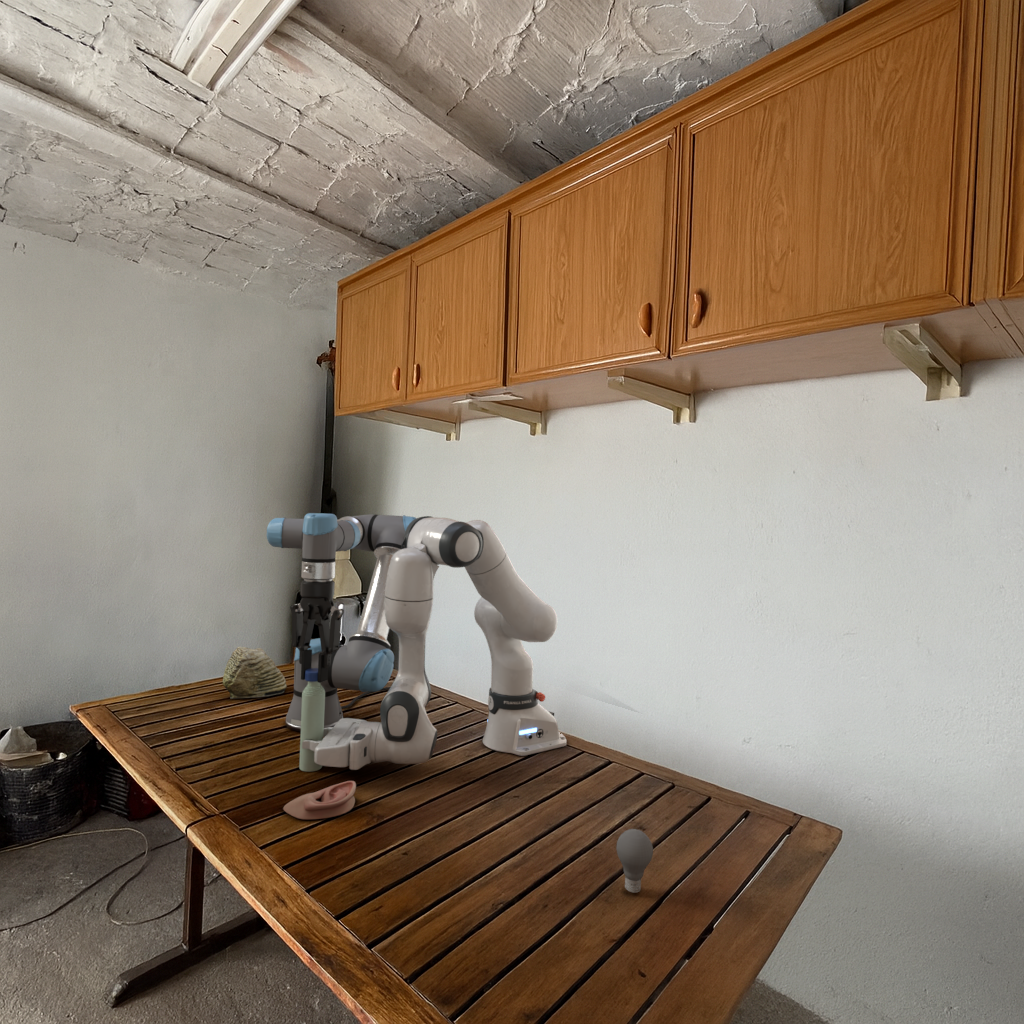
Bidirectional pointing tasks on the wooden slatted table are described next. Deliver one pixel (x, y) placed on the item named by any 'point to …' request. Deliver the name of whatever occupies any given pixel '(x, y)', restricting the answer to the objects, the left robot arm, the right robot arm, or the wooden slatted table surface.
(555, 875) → the wooden slatted table surface
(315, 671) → the cap
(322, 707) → the bottle
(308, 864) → the wooden slatted table surface
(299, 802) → the anatomical model
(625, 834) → the light bulb
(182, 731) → the wooden slatted table surface
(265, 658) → the fossil
